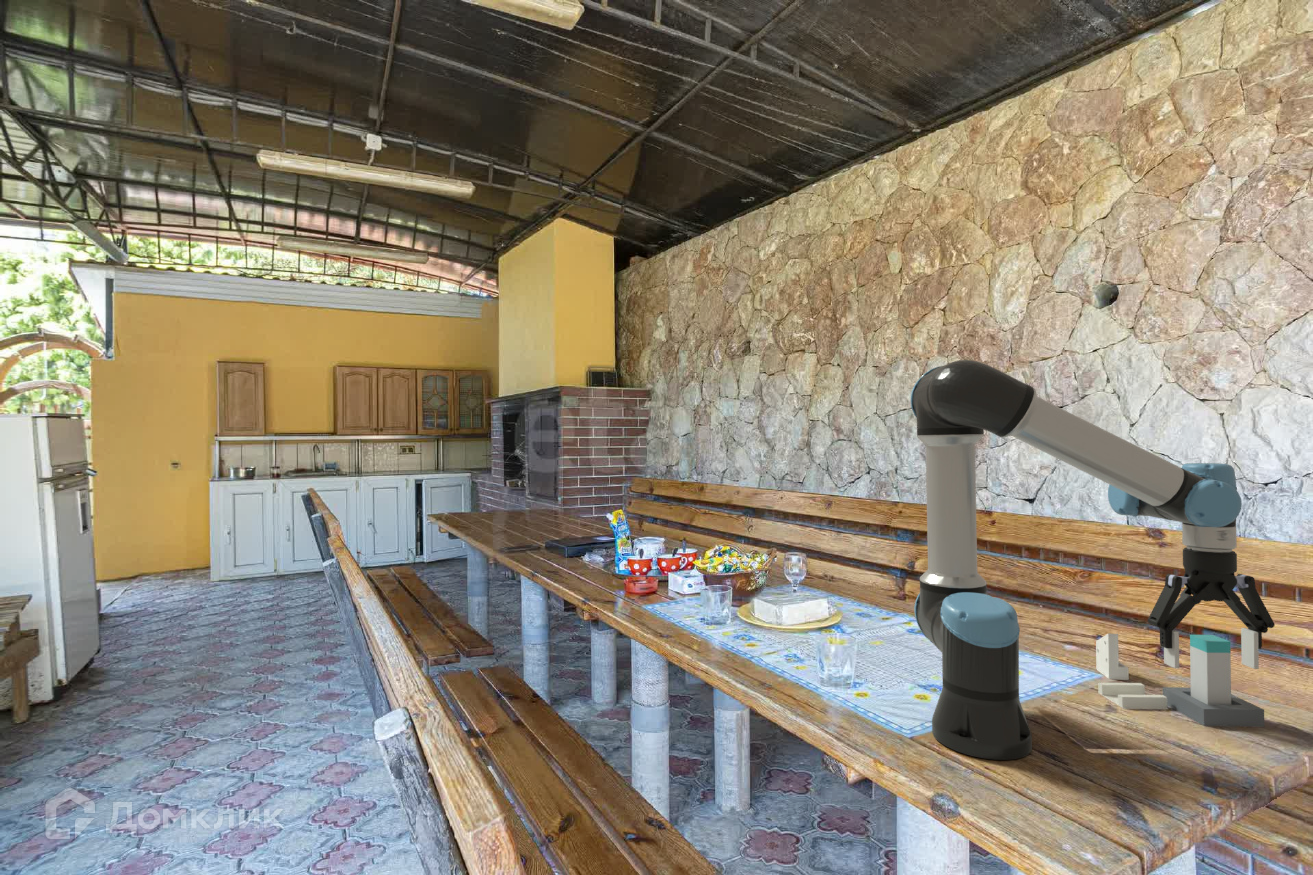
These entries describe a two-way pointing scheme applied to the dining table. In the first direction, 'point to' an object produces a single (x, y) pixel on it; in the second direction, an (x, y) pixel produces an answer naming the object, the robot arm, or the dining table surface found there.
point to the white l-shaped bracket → (1110, 658)
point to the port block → (1214, 709)
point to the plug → (1210, 669)
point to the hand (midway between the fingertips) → (1210, 666)
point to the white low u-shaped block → (1131, 696)
